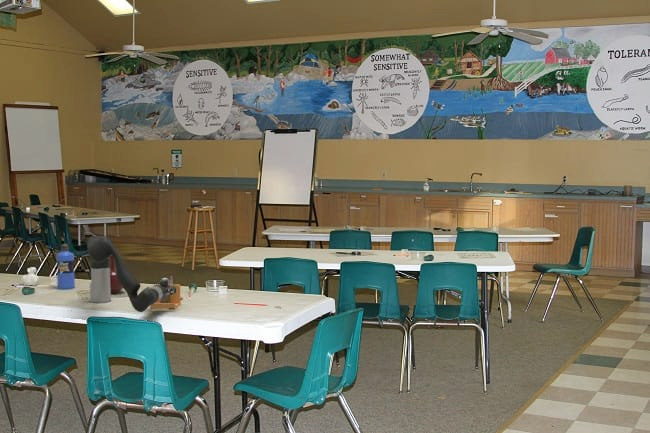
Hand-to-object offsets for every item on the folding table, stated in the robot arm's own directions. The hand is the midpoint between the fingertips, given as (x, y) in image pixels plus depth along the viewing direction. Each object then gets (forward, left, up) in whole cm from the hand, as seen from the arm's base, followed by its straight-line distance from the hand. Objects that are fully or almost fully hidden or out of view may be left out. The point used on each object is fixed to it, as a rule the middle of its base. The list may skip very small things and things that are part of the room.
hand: (164, 288), depth 394 cm
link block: (0, +1, -8) cm, 9 cm away
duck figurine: (-96, +61, -10) cm, 114 cm away
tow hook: (-1, +20, -10) cm, 22 cm away
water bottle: (-71, +51, -10) cm, 88 cm away
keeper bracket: (0, +1, -9) cm, 10 cm away
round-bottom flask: (-39, +37, -10) cm, 55 cm away
